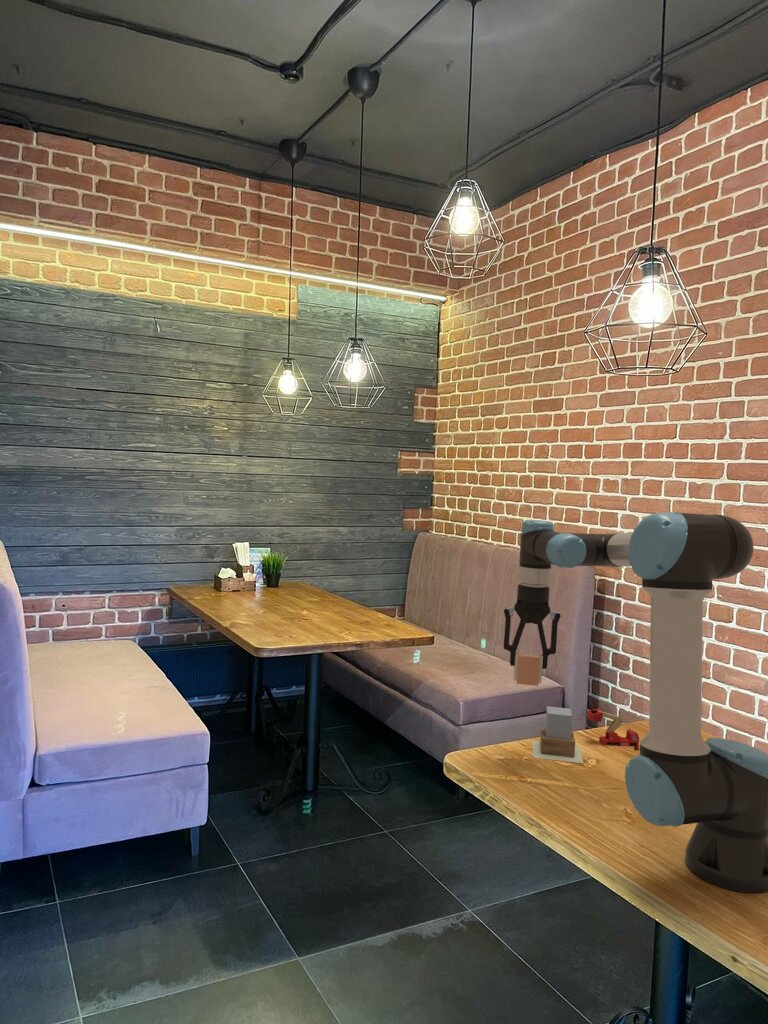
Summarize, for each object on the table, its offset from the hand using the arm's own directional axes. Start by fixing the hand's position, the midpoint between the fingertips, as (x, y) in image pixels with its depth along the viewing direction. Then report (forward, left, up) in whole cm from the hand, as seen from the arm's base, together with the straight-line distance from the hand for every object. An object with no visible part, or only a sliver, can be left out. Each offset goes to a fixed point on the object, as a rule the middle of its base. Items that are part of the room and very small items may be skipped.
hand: (527, 680), depth 182 cm
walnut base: (+10, -9, -20) cm, 24 cm away
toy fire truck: (+20, -24, -21) cm, 37 cm away
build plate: (+9, -9, -21) cm, 24 cm away
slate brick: (+10, -9, -16) cm, 21 cm away
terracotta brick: (0, 0, 0) cm, 0 cm away
